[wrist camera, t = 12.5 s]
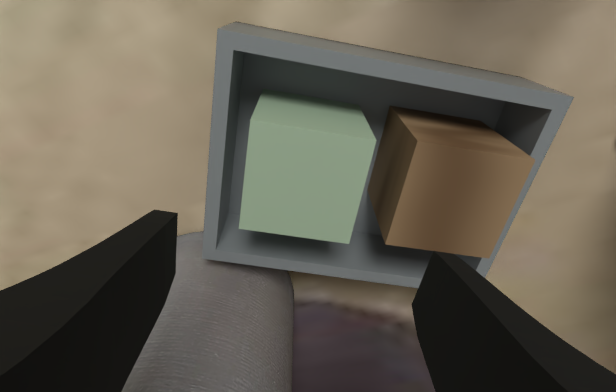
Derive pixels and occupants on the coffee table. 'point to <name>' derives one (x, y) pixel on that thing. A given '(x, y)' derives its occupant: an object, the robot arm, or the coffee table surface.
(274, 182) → the sage block
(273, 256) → the tray
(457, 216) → the walnut block
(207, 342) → the pillar candle
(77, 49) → the coffee table surface
